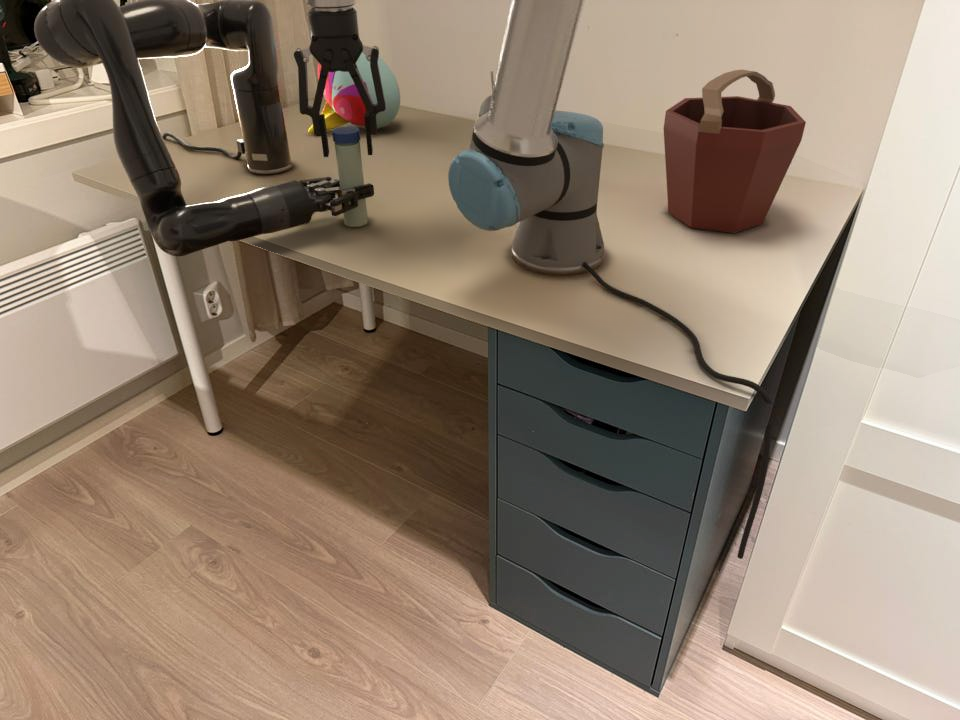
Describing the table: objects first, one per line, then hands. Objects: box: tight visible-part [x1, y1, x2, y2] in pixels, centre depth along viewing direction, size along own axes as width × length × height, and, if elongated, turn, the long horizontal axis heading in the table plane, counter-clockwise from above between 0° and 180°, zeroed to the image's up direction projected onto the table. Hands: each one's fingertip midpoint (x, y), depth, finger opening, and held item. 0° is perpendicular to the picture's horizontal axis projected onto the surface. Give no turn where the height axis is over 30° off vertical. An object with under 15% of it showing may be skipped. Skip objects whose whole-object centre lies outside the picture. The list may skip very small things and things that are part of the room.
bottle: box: [334, 140, 369, 228], centre depth 126 cm, size 4×4×16 cm
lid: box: [331, 125, 361, 144], centre depth 121 cm, size 5×5×2 cm
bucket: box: [663, 69, 807, 234], centre depth 125 cm, size 24×22×25 cm
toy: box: [307, 53, 401, 134], centre depth 176 cm, size 24×24×20 cm
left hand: (365, 185), depth 128 cm, fingers closed on bottle, 4 cm apart
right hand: (348, 153), depth 123 cm, fingers open, 7 cm apart
